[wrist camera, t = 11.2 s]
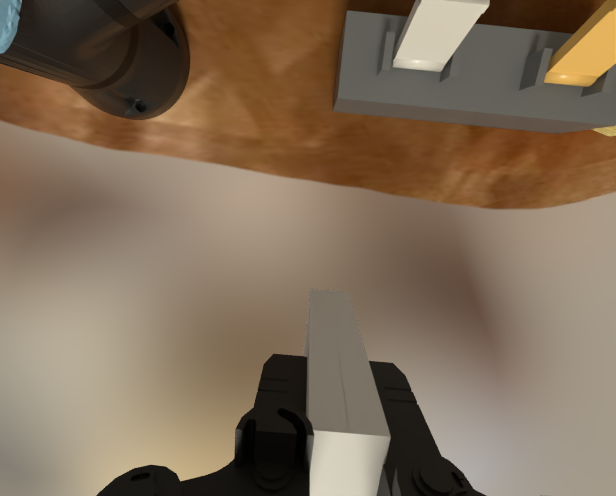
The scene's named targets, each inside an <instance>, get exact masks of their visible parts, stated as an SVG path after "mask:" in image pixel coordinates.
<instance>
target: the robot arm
mask: <svg viewBox="0 0 616 496" xmlns="http://www.w3.org/2000/svg"><path fill="white" fill-rule="evenodd" d="M177 1H178V0H0V64H4V65H7V66H10V67H13V68H16V69H19V70H23V71H26V72H29V73H32V74H35V75H39V76H42V77H45V78H48V79H51V80H54V81H58V82H61V83H64V84H67V85H69V86H70V87H71V88H73V89H74V90H75V91H76V92H77V93H78V94H80V95H81V96H82V97H83V98H84V99H85V100H87V101H88V102H89V103H90V104H92V105H93V106H95V107H97V108H98V109H100V110H102V111H104V112H106V113H109V114H112V115H115V116H118V117H122V118H126V119H132V120H144V119H150V118H153V117H156V116H158V115H161V114H162V113H164V112H166V111H167V110H168V109H170V108H171V107H172V106H173V105H174V104H175V103H176V101H177V100H178V99H179V97H180V96H181V94H182V92H183V90H184V88H185V85H186V82H187V79H188V74H189V50H188V45H187V41H186V38H185V35H184V32H183V30H182V27H181V25H180V23H179V22H178V20H177V18H176V17H175V15H174V14H173V13H172V11H171V10H170V9H169V8H168V6H170V5H171V4H173V3H175V2H177ZM97 496H486V495H484V494H482V493H480V492H478V491H476V490H474V489H473V488H472V486H471V484H470V483H469V481H468V480H467V478H466V477H465V476H464V474H463V473H462V472H461V471H460V470H459V469H458V468H457V467H456V466H455V465H454V464H453V463H451V462H450V461H449V460H447V459H445V458H444V457H442V456H441V454H440V452H439V450H438V447H437V445H436V443H435V441H434V439H433V436H432V434H431V432H430V430H429V427H428V425H427V423H426V421H425V419H424V416H423V414H422V412H421V410H420V408H419V405H417V401H416V399H415V396H414V394H413V392H411V387H410V385H409V383H408V381H407V378H406V376H405V375H404V374H403V373H402V372H401V371H400V370H399V369H398V368H397V367H396V366H395V365H394V364H393V363H386V362H375V361H368V357H367V354H366V351H365V347H364V344H363V340H362V337H361V334H360V330H359V327H358V323H357V320H356V317H355V313H354V310H353V306H352V303H351V300H350V296H349V293H348V292H339V291H329V290H318V289H310V295H309V304H308V314H307V324H306V334H305V344H304V356H292V355H281V354H273V355H272V356H271V357H270V358H269V359H268V360H267V362H266V363H265V364H264V366H263V371H262V374H261V380H260V383H259V387H258V392H257V395H256V399H255V403H254V408H252V409H251V410H250V411H249V412H247V414H245V415H244V416H243V417H242V418H241V420H240V422H239V424H238V425H237V428H236V431H235V458H234V460H233V461H232V462H230V463H229V464H228V465H227V466H225V467H223V468H222V469H220V470H218V471H217V472H214V473H211V474H208V475H205V476H201V477H197V478H193V479H189V480H185V481H181V482H180V480H179V478H178V476H177V474H176V473H174V472H173V471H171V470H170V469H168V468H167V467H164V466H157V465H148V466H143V467H139V468H134V469H132V470H130V471H129V472H126V473H124V474H123V475H121V476H119V477H117V478H115V479H114V480H113V481H112V482H111V483H110V484H108V485H107V486H106V487H105V488H104V489H103V490H102V491H100V492H99V493H98V495H97Z"/></svg>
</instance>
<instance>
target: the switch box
mask: <svg viewBox="0 0 616 496" xmlns="http://www.w3.org/2000/svg"><path fill="white" fill-rule="evenodd" d="M407 19H408V17H406V16H396V15H387V14H377V13H367V12H358V11H348V10H347V13H346V17H345V22H344V26H343V30H342V35H341V39H340V45H339V55H338V64H337V74H336V83H335V93H334V102H333V112H343V113H353V114H364V115H374V116H384V117H394V118H404V119H414V120H424V121H434V122H444V123H455V124H465V125H475V126H485V127H495V128H505V129H515V130H525V131H535V132H546V133H556V134H558V133H566V132H573V131H581V130H588V129H596V128H603V127H610V126H616V64H614V65H613V66H612V67H611V68H609V69H608V70H607V71H606V72H604V73H603V74H602V75H601V76H599V77H598V78H597V80H596V81H595V82H594V83H593V84H592V85H590V86H588V87H584V86H574V85H564V84H554V83H544V80H545V76H546V73H547V69H548V65H549V61H550V58H551V57H552V56H553V55H554V54H555V53H556V52H557V51H558V50H559V49H560V48H561V47H562V46H563V45H564V44H565V43H566V42H567V41H568V40H569V39H570V38H571V37H572V36H573V34H571V33H561V32H551V31H542V30H532V29H522V28H513V27H503V26H493V25H484V24H474V25H473V26H472V28H471V29H470V31H469V32H468V33H467V35H466V36H465V38H464V39H463V40H462V42H461V43H460V45H459V46H458V47H457V49H456V50H455V52H454V53H453V54H452V56H451V57H450V59H449V60H448V61H447V63H446V64H445V66H444V68H443V69H442V71H441V72H435V71H425V70H415V69H406V68H396V67H392V58H393V53H394V50H395V47H396V45H397V43H398V40H399V38H400V36H401V33H402V31H403V29H404V26H405V24H406V22H407Z"/></svg>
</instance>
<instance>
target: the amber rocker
mask: <svg viewBox="0 0 616 496" xmlns="http://www.w3.org/2000/svg"><path fill="white" fill-rule="evenodd" d="M614 64H616V0H607V1H606V2H605V3H604V4H603V5H602V6H601V7H600V8H599V9H598V10H597V11H596V12H595V13H594V14H593V15H592V16H591V17H590V18H589V19H588V20H587V21H586V22H585V23H584V24H583V25H582V26H581V27H580V28H579V29H578V30H577V31H576V32H575V33H574V34H573V36H572V37H571V38H570V39H569V40H568V41H567V42H566V43H565V44H564V45H563V46H562V47H561V48H560V49H559V50H558V51H557V52H556V53H555V54H554V55H553V56H552V57H551V58H550V61H549V65H548V69H547V73H546V76H545V80H544V83H554V84H564V85H574V86H584V87H588V86H590V85H592V84H593V83H594V82H595V81H596V80H597V78H598V77H599V76H601V75H602V74H603V73H604V72H606V71H607V70H608V69H609V68H611V67H612V66H613V65H614Z"/></svg>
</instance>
